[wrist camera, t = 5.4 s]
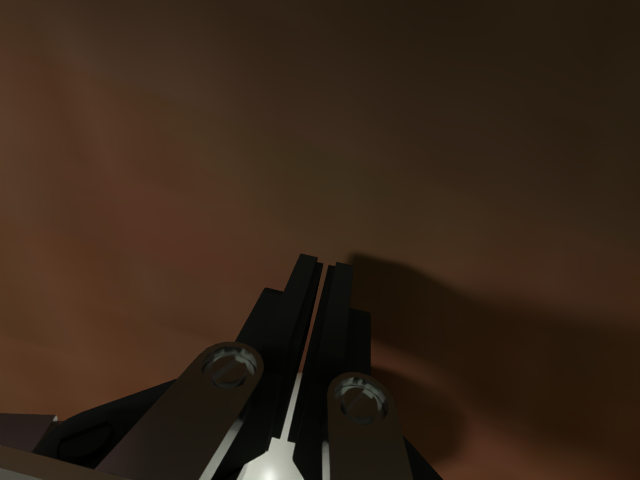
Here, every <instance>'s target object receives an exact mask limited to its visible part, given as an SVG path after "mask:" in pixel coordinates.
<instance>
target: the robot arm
mask: <svg viewBox="0 0 640 480" xmlns="http://www.w3.org/2000/svg"><path fill="white" fill-rule="evenodd" d="M317 259H318V257H313V256H309V255H305V254H300V256H299V258H298V260H297V263H296V265H295V267H294V269H293V272H292V274H291V276H290V279H289V281H288V283H287V285H286V288H285V290H284V292H282V291H278V290H274V289H270V288H264V290H263V292H262V293H261V295H260V297H259V299H258V301H257V302H256V304H255V306H254V308H253V310H252V312H251V313H250V315H249V317H248V319H247V321H246V322H245V324H244V326H243V328H242V330H241V331H240V333H239V335H238V337H237V339H236V341H235V342H222V343H217V344H215V345H212V346H210V347H208V348H206V349H205V350H204V351H203V352H202V353H200V354H199V355H198V356H197V358H196V359H195V360H194V361H193V362H192V363H191V364H190V365H189V366H188V367H187V369H186V370H185V371H184V372H183V373H182V374H181V375H180V376H179V377H178V378H177V379H174V380H172V381H169V382H166V383H163V384H160V385H157V386H155V387H152V388H149V389H146V390H143V391H140V392H138V393H135V394H132V395H129V396H126V397H123V398H121V399H118V400H115V401H112V402H109V403H106V404H104V405H101V406H98V407H95V408H92V409H90V410H87V411H84V412H81V413H79V414H77V415H75V416H73V417H71V418H68V419H67V420H65V421H57V416H56V415H39V414H8V413H0V480H242V479H243V477H244V475H245V473H246V470H247V467H248V464H249V462H250V461H252V460H254V459H256V458H257V457H259V456H261V455H263V454H264V453H265V452H266V451H268V450H269V446H270V443H271V440H272V437H273V438H277V439H280V438H281V434H282V431H283V427H284V423H285V419H286V415H287V412H288V408H289V404H290V400H291V396H292V393H293V389H294V385H295V381H296V377H297V374H298V370H299V366H300V362H301V358H302V355H303V351H304V347H305V343H306V339H307V335H308V331H309V326H310V322H311V317H312V313H313V308H314V304H315V299H316V295H317V290H318V286H319V281H320V277H321V272H322V268H323V263H319V262H317ZM353 268H354V266H352V265H347V264H343V263H339V262H336V266H332V265H329V266H328V270H327V274H326V278H325V282H324V286H323V290H322V294H321V298H320V302H319V306H318V310H317V314H316V318H315V322H314V326H313V330H312V334H311V339H310V343H309V347H308V351H307V355H306V360H305V364H304V368H303V373H302V377H301V381H300V386H299V390H298V395H297V399H296V403H295V408H294V412H293V417H292V421H291V425H290V430H289V434H288V439H287V441H288V442H292V443H295V447H294V451H293V456H292V458H293V459H292V461H293V462H294V464H295V465H296V467H297V469H298V470H299V472H300V474H301V475H302V477H303V480H443V479H442V478H441V477H440V476H439V474H438V473H437V472H436V471H435V470H434V469H433V468H432V467H431V466H430V465H429V463H428V462H427V461H426V460H425V459H424V458H423V457H422V456H421V455H420V454H419V452H418V451H417V450H416V449H415V448H414V447H413V446H412V445H411V444H410V443H409V441H408V440H407V439H406V438H405V437H404V436H403V435H402V431H401V427H400V423H399V419H398V414H397V410H396V406H395V403H394V400H393V398H392V395H391V394H390V392H389V391H388V390H387V389H386V387H385V386H384V385H383V384H381V383H380V382H379V381H378V380H376V379H374V378H373V377H371V315H370V313H369V312H365V311H361V310H357V309H352V308H349V307H350V297H351V287H352V278H353Z"/></svg>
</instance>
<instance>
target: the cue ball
mask: <svg viewBox="0 0 640 480" xmlns="http://www.w3.org/2000/svg"><path fill="white" fill-rule="evenodd" d="M302 373H303V372H302ZM302 373H298V374H297V377H296V381H295V385H294V389H293V393H292V396H291V400H290V404H289V408H288V412H287V415H286V419H285V423H284V427H283V431H282V434H281V438H280V439H277V438H273V437H272V440H271V443H270V446H269V450H268V451H266V452H265V453H264V454H263V455H261V456H259V457H257V458H256V459H254V460H252V461H250V462H249V464H248V467H247V470H246V473H245V475H244V477H243V479H242V480H303V477H302V475H301V474H300V472H299V470H298V469H297V467H296V465H295V464H294V462H293V461H292V459H293V458H292V456H293V451H294V447H295V443H292V442H288V441H287V439H288V434H289V430H290V425H291V421H292V417H293V412H294V408H295V403H296V399H297V395H298V390H299V386H300V381H301V377H302Z"/></svg>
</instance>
